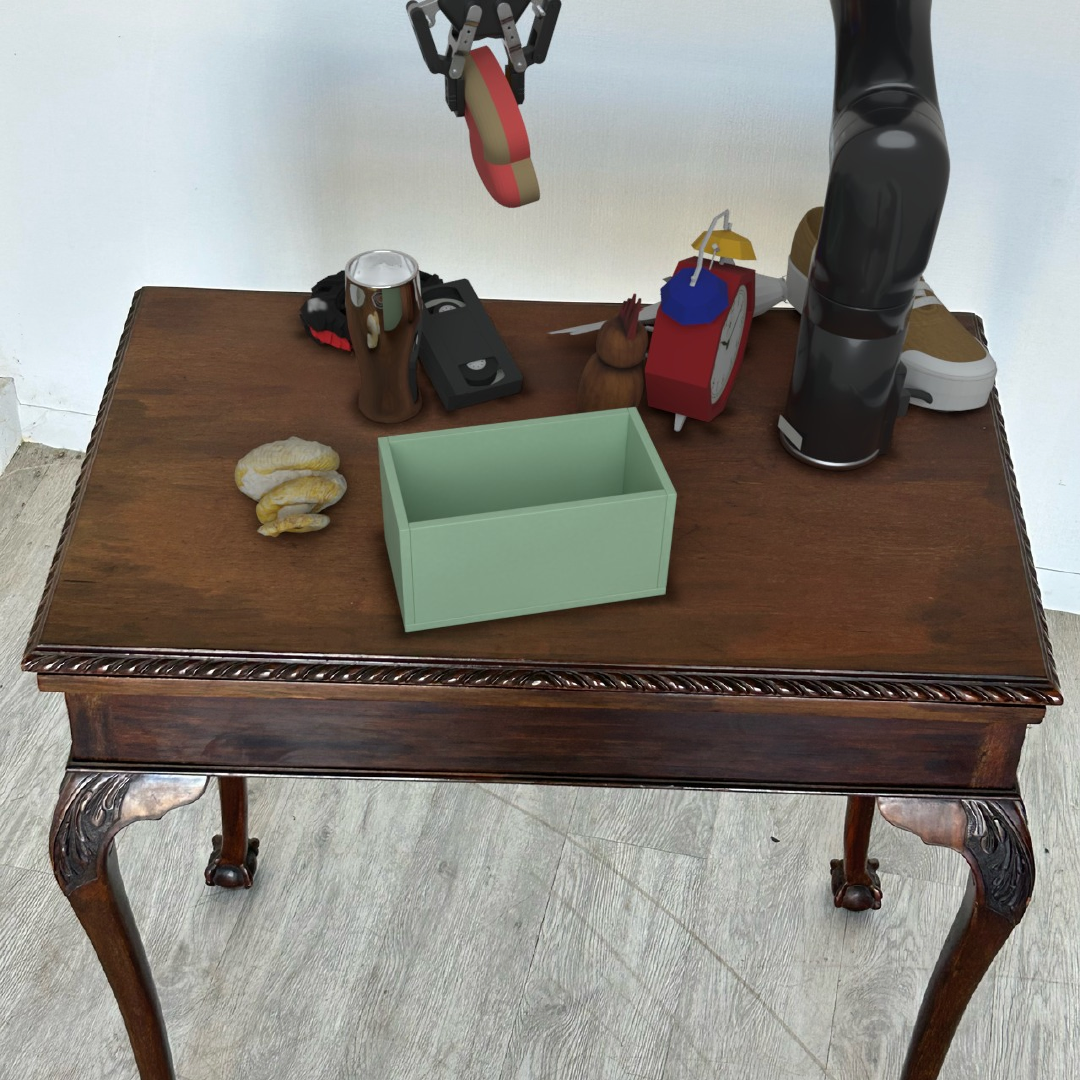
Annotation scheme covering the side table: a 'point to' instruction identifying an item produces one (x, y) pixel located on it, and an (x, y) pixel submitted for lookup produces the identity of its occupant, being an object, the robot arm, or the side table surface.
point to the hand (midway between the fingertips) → (485, 110)
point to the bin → (525, 517)
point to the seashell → (291, 484)
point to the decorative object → (497, 132)
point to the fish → (766, 287)
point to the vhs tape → (464, 348)
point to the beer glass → (385, 332)
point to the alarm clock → (701, 328)
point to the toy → (336, 310)
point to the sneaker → (915, 336)
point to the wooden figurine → (616, 363)
